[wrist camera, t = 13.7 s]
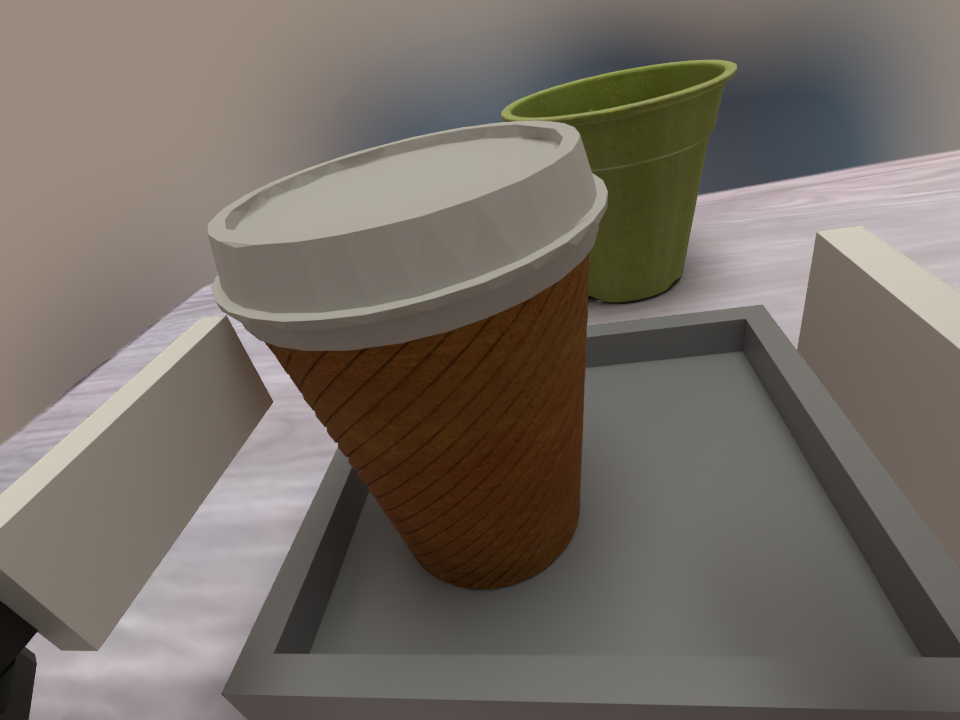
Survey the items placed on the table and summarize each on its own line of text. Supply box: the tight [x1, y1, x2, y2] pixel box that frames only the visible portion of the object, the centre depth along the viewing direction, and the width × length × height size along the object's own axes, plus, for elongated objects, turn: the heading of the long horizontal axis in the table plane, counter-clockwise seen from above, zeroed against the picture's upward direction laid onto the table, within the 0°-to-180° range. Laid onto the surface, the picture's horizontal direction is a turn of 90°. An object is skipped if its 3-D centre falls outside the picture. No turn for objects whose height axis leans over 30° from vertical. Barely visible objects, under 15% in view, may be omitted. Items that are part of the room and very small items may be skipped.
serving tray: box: [222, 305, 960, 720], centre depth 18 cm, size 18×16×2 cm
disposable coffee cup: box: [208, 121, 608, 589], centre depth 15 cm, size 10×10×12 cm
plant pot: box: [501, 60, 737, 302], centre depth 30 cm, size 12×12×11 cm
